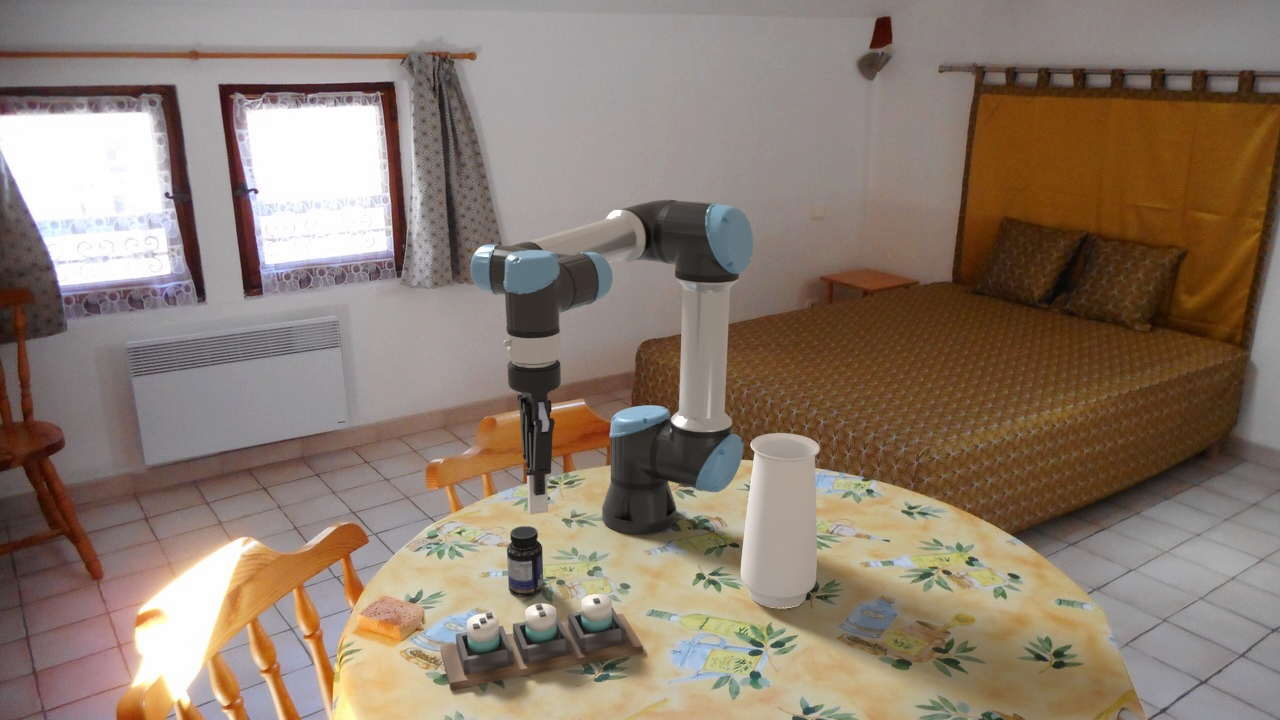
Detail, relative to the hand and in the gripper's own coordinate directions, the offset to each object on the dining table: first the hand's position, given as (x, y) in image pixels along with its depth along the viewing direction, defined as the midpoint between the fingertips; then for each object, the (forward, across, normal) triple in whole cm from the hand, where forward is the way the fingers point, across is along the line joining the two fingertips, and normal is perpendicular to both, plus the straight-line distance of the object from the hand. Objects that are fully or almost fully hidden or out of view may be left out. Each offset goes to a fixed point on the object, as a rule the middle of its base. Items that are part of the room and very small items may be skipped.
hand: (538, 510), depth 147 cm
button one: (+21, 0, +9) cm, 23 cm away
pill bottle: (+25, -20, +2) cm, 32 cm away
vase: (+25, -4, +43) cm, 50 cm away
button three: (+21, 0, -9) cm, 23 cm away
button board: (+24, 0, 0) cm, 24 cm away
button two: (+21, 0, 0) cm, 21 cm away
